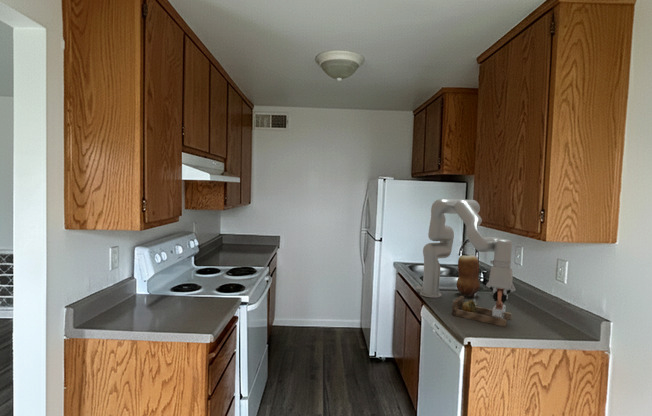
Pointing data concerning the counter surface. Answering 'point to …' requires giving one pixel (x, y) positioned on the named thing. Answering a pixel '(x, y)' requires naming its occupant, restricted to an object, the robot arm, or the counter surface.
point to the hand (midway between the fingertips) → (499, 301)
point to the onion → (469, 306)
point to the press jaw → (499, 305)
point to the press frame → (479, 317)
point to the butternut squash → (468, 275)
